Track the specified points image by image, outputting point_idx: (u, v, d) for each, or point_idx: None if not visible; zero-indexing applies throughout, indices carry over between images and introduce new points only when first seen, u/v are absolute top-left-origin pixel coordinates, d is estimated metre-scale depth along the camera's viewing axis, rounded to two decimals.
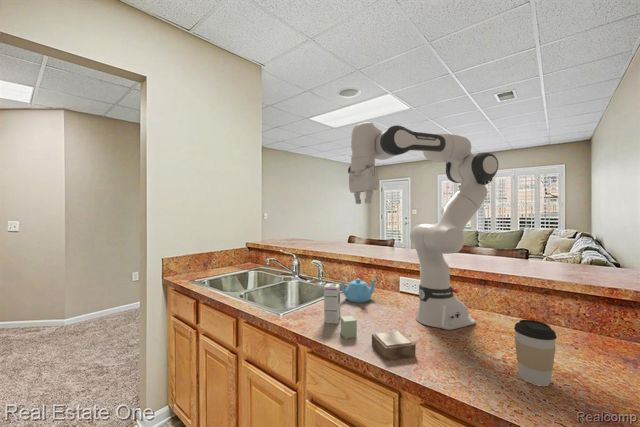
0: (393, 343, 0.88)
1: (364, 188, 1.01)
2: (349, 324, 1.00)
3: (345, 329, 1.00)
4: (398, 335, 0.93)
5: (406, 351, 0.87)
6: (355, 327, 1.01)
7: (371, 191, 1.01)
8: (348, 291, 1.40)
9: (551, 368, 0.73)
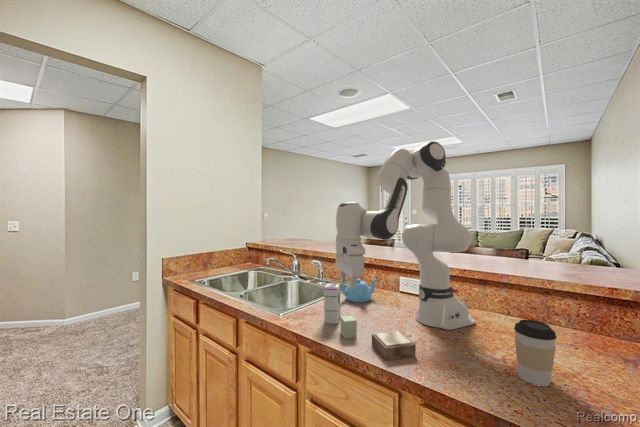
0: (393, 343, 0.88)
1: None
2: (349, 324, 1.00)
3: (345, 329, 1.00)
4: (398, 335, 0.93)
5: (406, 351, 0.87)
6: (355, 327, 1.01)
7: None
8: (348, 291, 1.40)
9: (551, 368, 0.73)
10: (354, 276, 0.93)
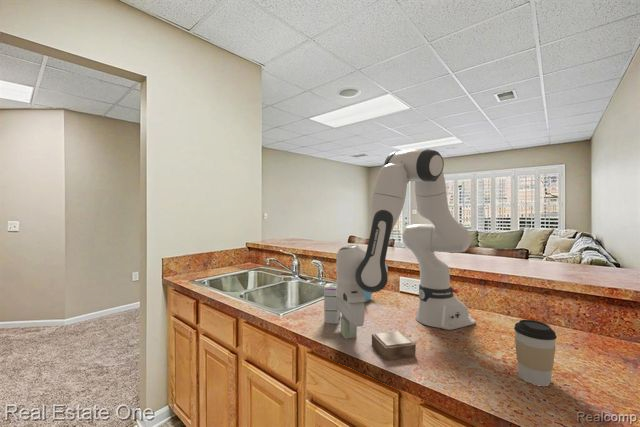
0: (393, 343, 0.88)
1: None
2: None
3: (345, 328, 1.00)
4: (398, 335, 0.93)
5: (406, 351, 0.87)
6: (355, 327, 1.01)
7: None
8: None
9: (551, 368, 0.73)
10: (355, 325, 0.93)
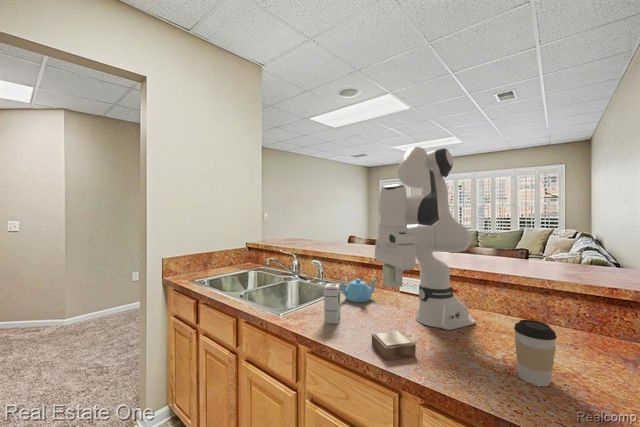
0: (393, 343, 0.88)
1: None
2: (394, 272, 0.89)
3: (390, 276, 0.89)
4: (398, 335, 0.93)
5: (406, 351, 0.87)
6: (401, 275, 0.90)
7: None
8: (348, 291, 1.40)
9: (551, 368, 0.73)
10: (405, 268, 0.81)
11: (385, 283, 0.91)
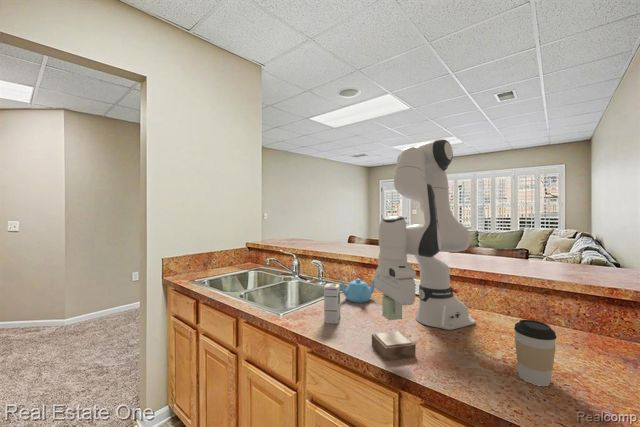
0: (393, 343, 0.88)
1: None
2: (394, 304, 0.89)
3: (390, 309, 0.89)
4: (398, 335, 0.93)
5: (406, 351, 0.87)
6: None
7: None
8: (348, 291, 1.40)
9: (551, 368, 0.73)
10: (405, 303, 0.81)
11: (385, 315, 0.91)
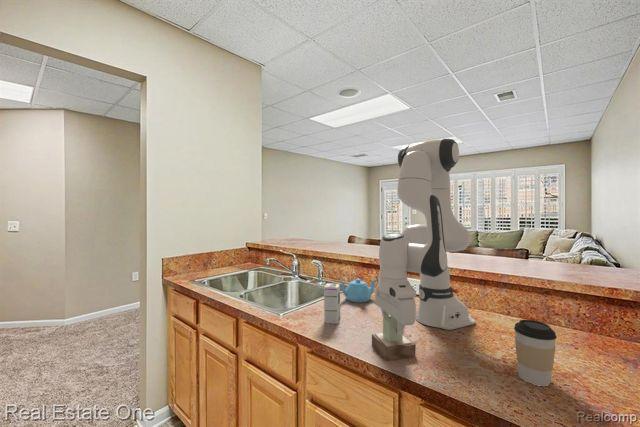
0: (393, 343, 0.88)
1: None
2: (394, 326, 0.89)
3: (390, 331, 0.89)
4: None
5: (406, 351, 0.87)
6: None
7: None
8: (348, 291, 1.40)
9: (551, 368, 0.73)
10: (405, 323, 0.82)
11: (385, 336, 0.91)
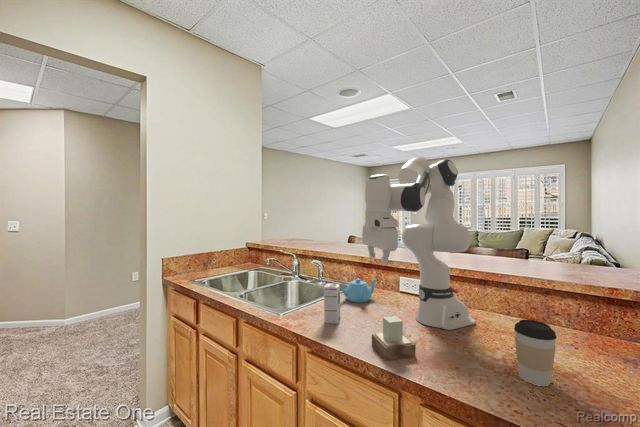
0: (393, 343, 0.88)
1: None
2: (394, 326, 0.89)
3: (390, 331, 0.89)
4: None
5: (406, 351, 0.87)
6: (401, 329, 0.90)
7: None
8: (348, 291, 1.40)
9: (551, 368, 0.73)
10: (389, 249, 0.91)
11: (385, 336, 0.91)
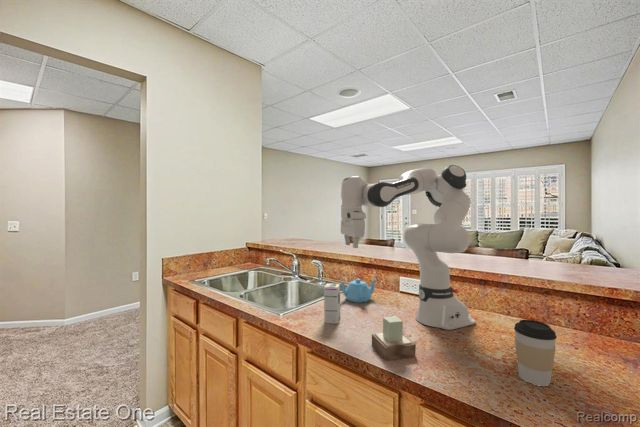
0: (393, 343, 0.88)
1: None
2: (394, 326, 0.89)
3: (390, 331, 0.89)
4: None
5: (406, 351, 0.87)
6: (401, 329, 0.90)
7: None
8: (348, 291, 1.40)
9: (551, 368, 0.73)
10: (357, 236, 1.13)
11: (385, 336, 0.91)
